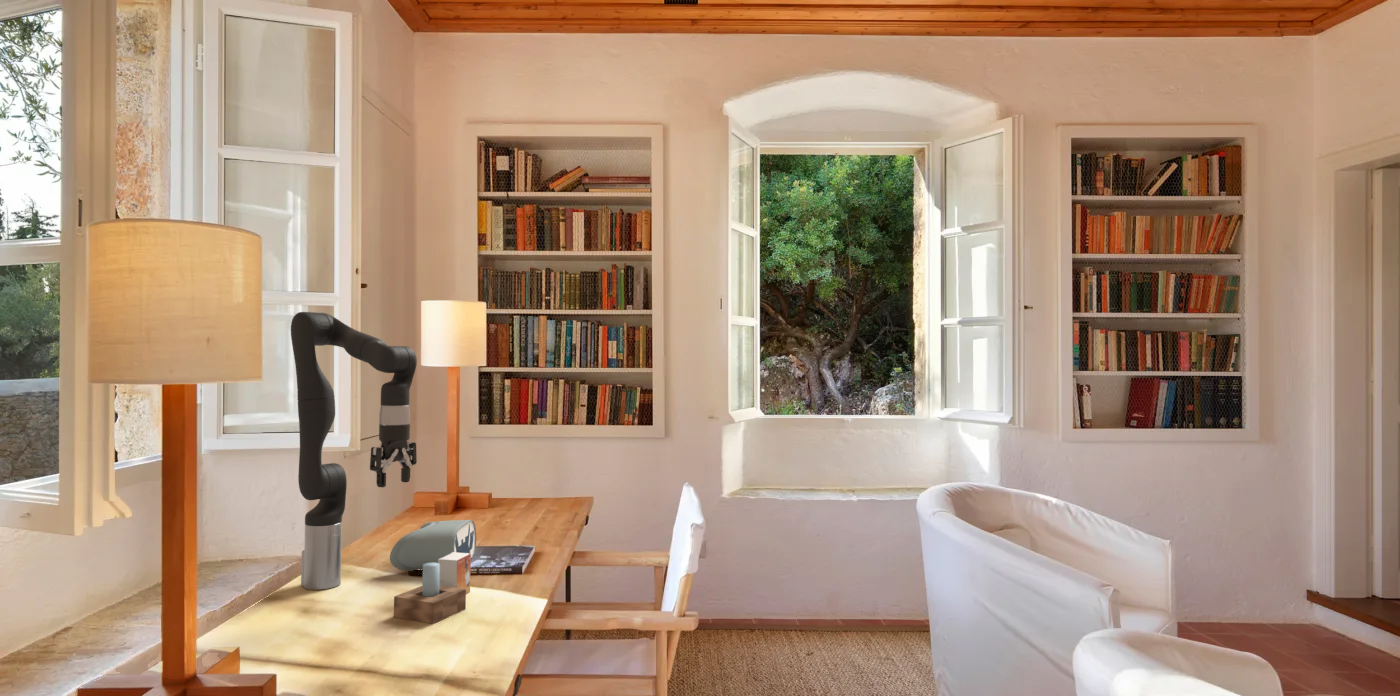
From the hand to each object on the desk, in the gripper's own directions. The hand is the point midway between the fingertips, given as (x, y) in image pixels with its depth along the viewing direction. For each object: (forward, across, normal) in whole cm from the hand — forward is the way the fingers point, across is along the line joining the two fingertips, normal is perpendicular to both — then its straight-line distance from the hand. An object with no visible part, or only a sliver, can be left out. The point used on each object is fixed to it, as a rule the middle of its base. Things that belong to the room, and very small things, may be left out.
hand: (393, 484), depth 208 cm
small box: (+30, -10, +12) cm, 34 cm away
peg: (+30, +4, +16) cm, 34 cm away
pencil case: (+30, -31, -12) cm, 45 cm away
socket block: (+30, +4, +16) cm, 34 cm away
